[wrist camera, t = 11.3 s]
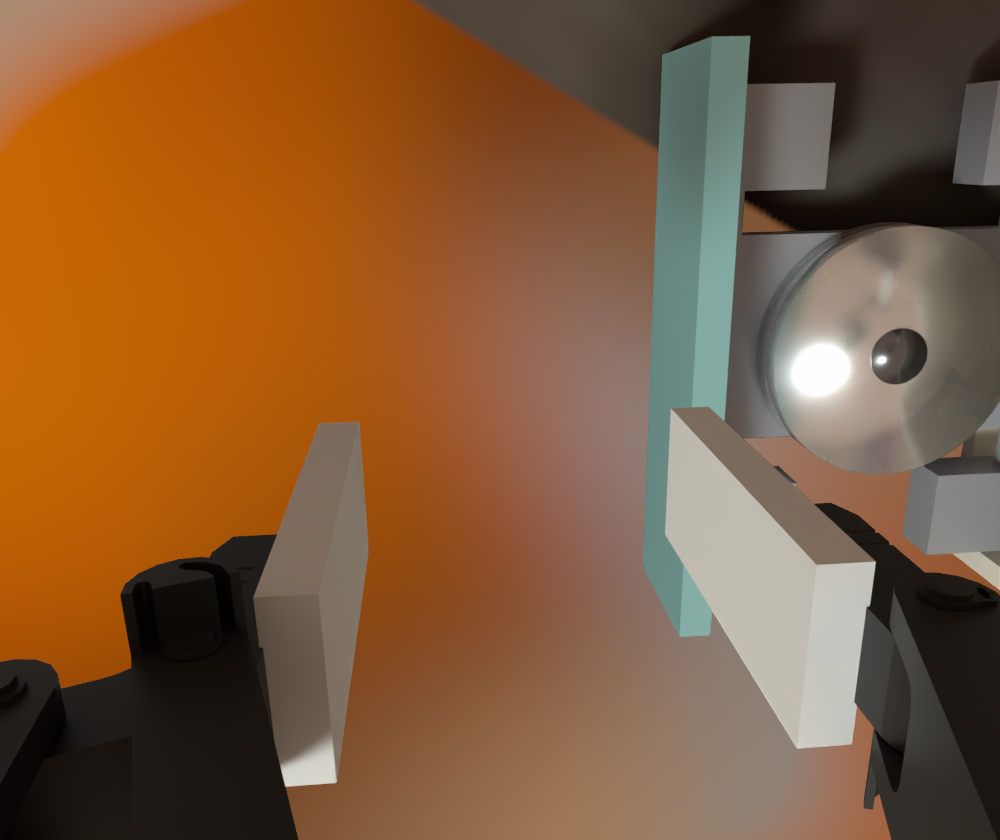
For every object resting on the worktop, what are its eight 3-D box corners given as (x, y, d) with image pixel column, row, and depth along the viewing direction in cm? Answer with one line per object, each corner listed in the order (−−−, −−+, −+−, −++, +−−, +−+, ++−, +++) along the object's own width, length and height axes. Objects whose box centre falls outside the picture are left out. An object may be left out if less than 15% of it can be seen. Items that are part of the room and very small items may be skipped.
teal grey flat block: (643, 566, 32) (679, 636, 27) (662, 55, 26) (712, 36, 22) (965, 547, 33) (1053, 613, 28) (1049, 50, 27) (1174, 31, 23)
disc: (1007, 218, 27) (1043, 223, 26) (968, 451, 30) (999, 469, 28) (765, 224, 27) (787, 230, 25) (746, 462, 29) (765, 481, 28)
